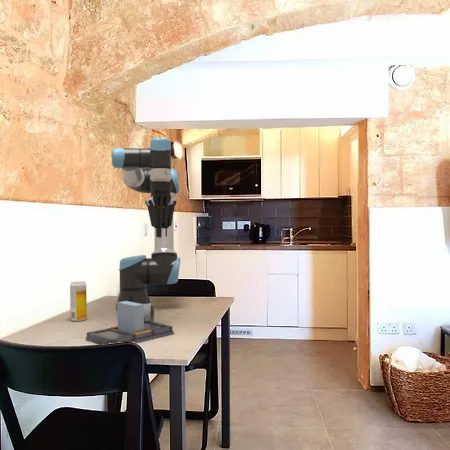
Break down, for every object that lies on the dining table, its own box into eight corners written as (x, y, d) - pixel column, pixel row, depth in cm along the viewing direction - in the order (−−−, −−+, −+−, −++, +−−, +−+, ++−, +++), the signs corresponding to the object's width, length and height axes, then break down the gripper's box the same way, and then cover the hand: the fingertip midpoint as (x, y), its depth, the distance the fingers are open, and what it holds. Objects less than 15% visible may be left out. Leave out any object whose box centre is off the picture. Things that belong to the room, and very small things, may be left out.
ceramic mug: (133, 321, 178) (133, 301, 178) (154, 321, 177) (154, 301, 177) (127, 328, 167) (126, 307, 167) (149, 328, 167) (149, 307, 167)
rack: (85, 339, 151) (85, 331, 151) (145, 327, 168) (145, 319, 168) (113, 348, 140) (112, 339, 140) (173, 334, 157) (173, 325, 157)
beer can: (89, 319, 183) (89, 281, 183) (80, 322, 178) (79, 283, 178) (77, 318, 185) (76, 280, 185) (67, 321, 180) (66, 282, 180)
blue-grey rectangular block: (117, 331, 156) (117, 302, 156) (126, 330, 159) (126, 301, 159) (135, 336, 149) (134, 305, 149) (144, 334, 152) (143, 304, 152)
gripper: (152, 179, 160) (153, 247, 160) (181, 181, 169) (182, 245, 169) (139, 181, 165) (140, 246, 165) (168, 182, 174) (169, 245, 175)
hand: (161, 246), depth 167 cm, fingers closed
